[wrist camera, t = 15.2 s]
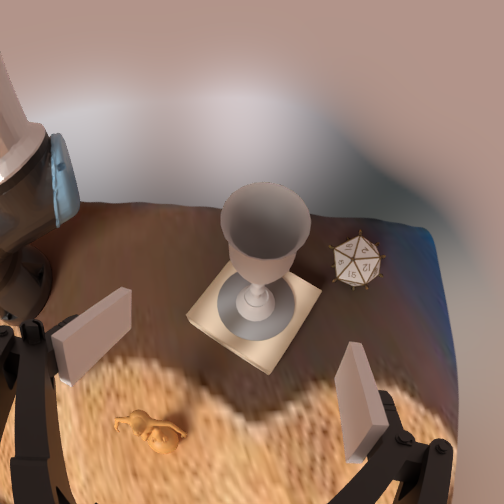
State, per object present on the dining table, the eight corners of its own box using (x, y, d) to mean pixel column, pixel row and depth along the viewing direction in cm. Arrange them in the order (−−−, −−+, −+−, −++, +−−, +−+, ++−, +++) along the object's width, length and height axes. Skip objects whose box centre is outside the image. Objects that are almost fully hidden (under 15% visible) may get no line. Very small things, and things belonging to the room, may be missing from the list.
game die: (335, 274, 48) (339, 217, 45) (383, 284, 44) (392, 225, 41) (318, 299, 41) (322, 233, 38) (374, 312, 37) (386, 244, 33)
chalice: (232, 274, 39) (227, 178, 24) (283, 279, 39) (309, 186, 24) (225, 327, 36) (213, 256, 20) (280, 331, 35) (312, 264, 20)
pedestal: (190, 322, 40) (185, 313, 36) (242, 256, 45) (242, 242, 42) (268, 375, 36) (271, 371, 33) (316, 300, 42) (322, 289, 39)
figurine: (138, 448, 30) (99, 460, 20) (136, 408, 33) (96, 405, 23) (198, 452, 30) (180, 471, 20) (196, 410, 33) (176, 412, 23)
